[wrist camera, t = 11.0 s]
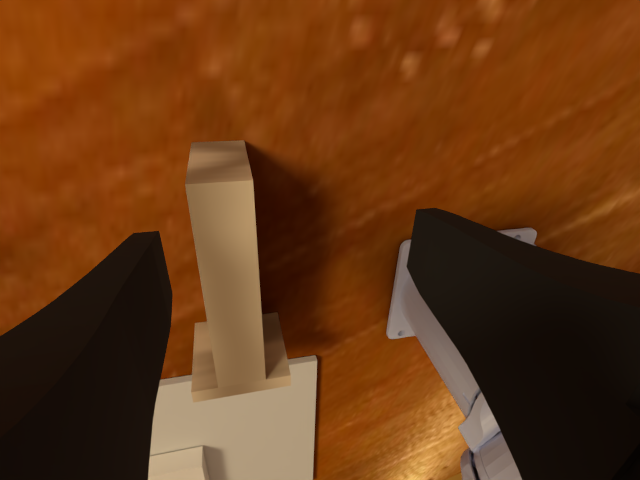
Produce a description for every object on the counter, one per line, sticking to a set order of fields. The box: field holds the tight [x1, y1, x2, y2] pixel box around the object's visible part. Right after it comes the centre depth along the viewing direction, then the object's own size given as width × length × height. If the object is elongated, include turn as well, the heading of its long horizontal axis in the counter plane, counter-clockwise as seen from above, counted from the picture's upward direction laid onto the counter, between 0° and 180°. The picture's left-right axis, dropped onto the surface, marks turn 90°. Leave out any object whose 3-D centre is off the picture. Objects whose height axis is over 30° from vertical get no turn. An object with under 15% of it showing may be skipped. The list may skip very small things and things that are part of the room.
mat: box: [150, 355, 317, 480], centre depth 29 cm, size 22×16×1 cm
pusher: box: [185, 141, 291, 403], centre depth 19 cm, size 5×12×5 cm, turn 179°
